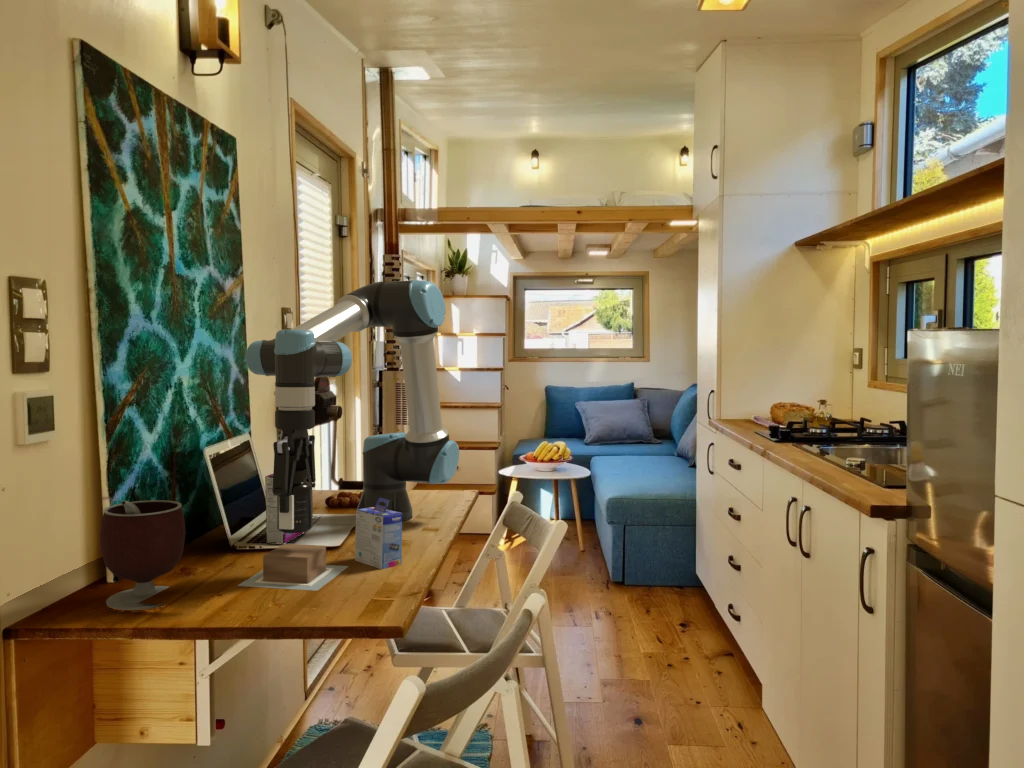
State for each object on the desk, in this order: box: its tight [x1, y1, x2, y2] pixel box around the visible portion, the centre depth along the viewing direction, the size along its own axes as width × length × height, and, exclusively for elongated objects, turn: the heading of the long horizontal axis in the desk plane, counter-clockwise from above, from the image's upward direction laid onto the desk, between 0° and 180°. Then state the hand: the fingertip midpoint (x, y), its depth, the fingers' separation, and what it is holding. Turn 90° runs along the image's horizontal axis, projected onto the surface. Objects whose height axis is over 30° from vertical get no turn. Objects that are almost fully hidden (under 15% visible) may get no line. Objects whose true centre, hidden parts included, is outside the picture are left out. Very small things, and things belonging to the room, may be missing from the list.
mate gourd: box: [99, 499, 186, 610], centre depth 136 cm, size 16×14×20 cm
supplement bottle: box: [277, 468, 314, 533], centre depth 148 cm, size 7×7×12 cm
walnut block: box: [262, 543, 327, 584], centre depth 148 cm, size 9×9×5 cm
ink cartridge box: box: [354, 498, 403, 570], centre depth 158 cm, size 10×6×14 cm, turn 47°
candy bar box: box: [264, 473, 303, 543], centre depth 181 cm, size 11×5×16 cm, turn 170°
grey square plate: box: [236, 564, 349, 592], centre depth 148 cm, size 16×16×1 cm
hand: (295, 524), depth 148 cm, fingers closed on supplement bottle, 7 cm apart
